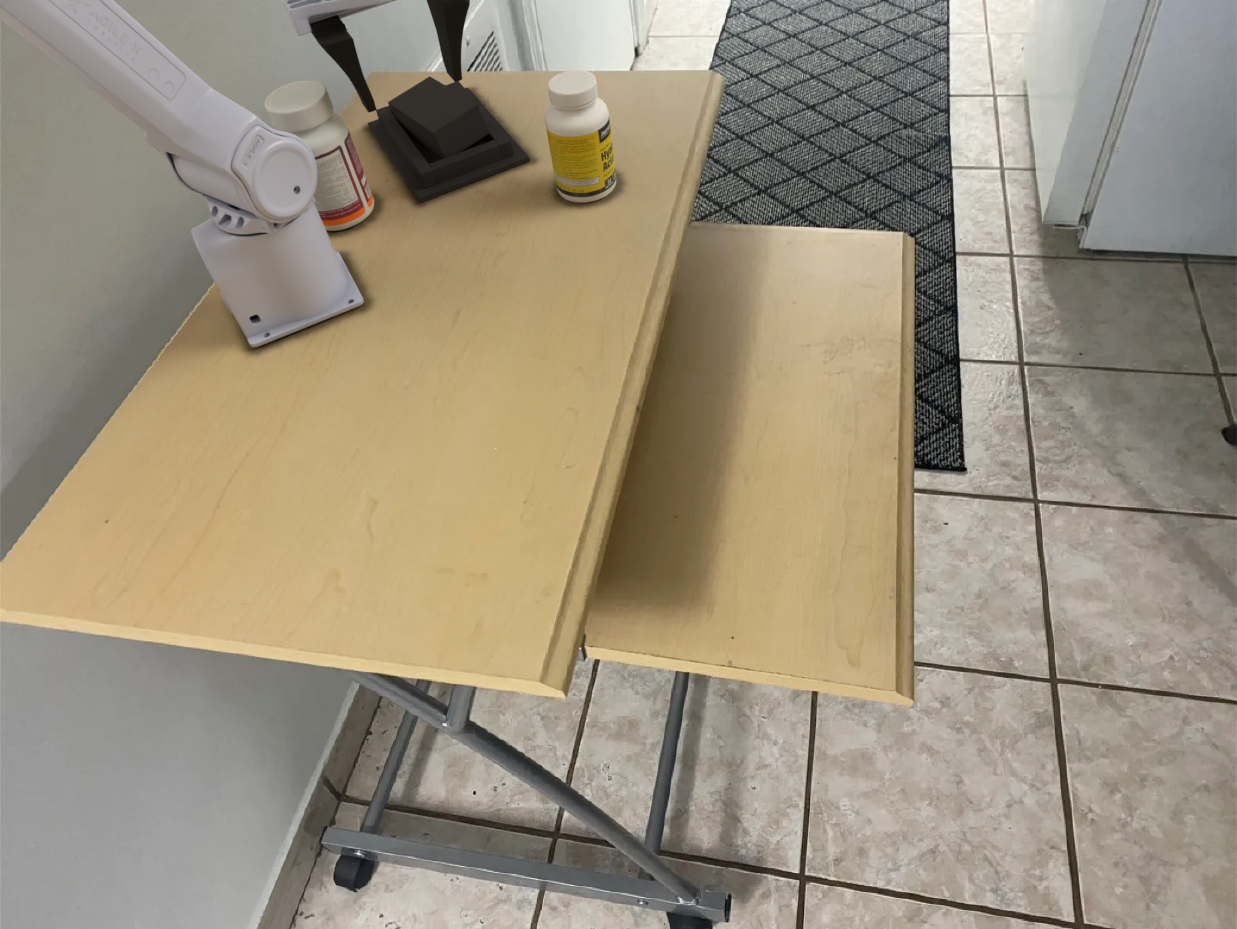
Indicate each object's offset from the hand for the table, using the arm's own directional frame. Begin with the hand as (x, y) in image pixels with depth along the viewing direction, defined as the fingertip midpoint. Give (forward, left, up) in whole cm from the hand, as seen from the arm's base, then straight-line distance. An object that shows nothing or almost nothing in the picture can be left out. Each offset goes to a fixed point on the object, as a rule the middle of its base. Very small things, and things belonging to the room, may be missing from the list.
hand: (412, 91), depth 76 cm
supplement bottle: (+11, -8, -10) cm, 17 cm away
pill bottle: (-9, +2, -10) cm, 13 cm away
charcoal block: (+3, +7, -8) cm, 11 cm away
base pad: (+3, +7, -9) cm, 12 cm away
